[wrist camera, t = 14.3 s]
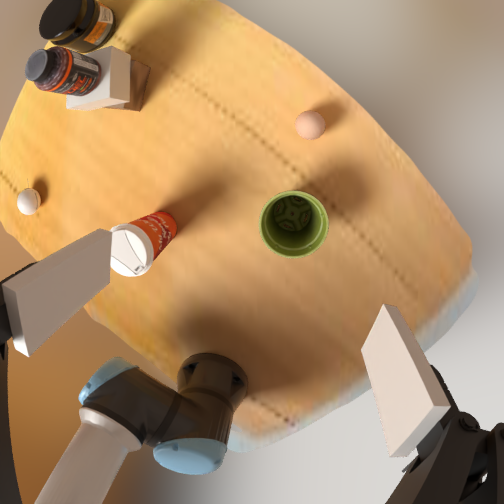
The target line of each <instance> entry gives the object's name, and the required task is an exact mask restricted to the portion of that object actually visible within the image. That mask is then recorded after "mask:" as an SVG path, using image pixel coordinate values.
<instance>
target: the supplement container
mask: <svg viewBox="0 0 504 504" xmlns="http://www.w3.org/2000/svg"><path fill="white" fill-rule="evenodd" d="M115 23H116V17H115V14H114V12H113V11H112V9H110V8H109V7H107V6H105V5H103V4H102V3H100V2H98V1H97V0H53V1H52V2H51V3H50V4H49V5H48V7H47V8H46V10H45V11H44V13H43V15H42V17H41V20H40V24H39V31H40V35H41V36H42V37H43V38H44V39H47V40H50V41H51V42H52V43H53V44H54V45H57V46H62V47H66V48H69V49H72V50H75V51H77V52H79V53H89V52H92V51H95V50H97V49H98V48H100V47H101V46H102V45H103V44H104V43H106V41H107V40H108V39H109V38H110V36H111V34H112V33H113V30H114V28H115Z"/></svg>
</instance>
